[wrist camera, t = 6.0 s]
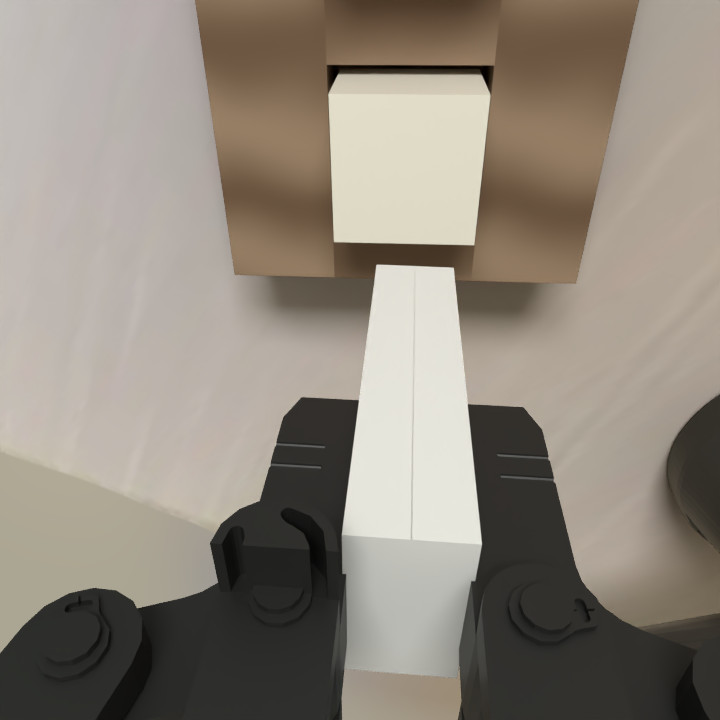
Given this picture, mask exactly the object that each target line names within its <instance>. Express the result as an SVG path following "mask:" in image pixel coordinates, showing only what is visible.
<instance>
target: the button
mask: <svg viewBox="0 0 720 720" xmlns="http://www.w3.org/2000/svg"><path fill="white" fill-rule="evenodd" d="M328 97H329V124H330V150H331V177H332V204H333V231H334V242H350V243H395V244H440V245H474V243H475V234H476V225H477V215H478V206H479V197H480V188H481V179H482V169H483V160H484V151H485V142H486V132H487V123H488V114H489V105H490V93H489V90H488V88H487V86H486V83H485V81H484V79H483V76H482V74H481V72H480V69H346V68H341V69H340V71H339V73H338V75H337V78H336V80H335V82H334V84H333V86H332V88H331V90H330V92H329V94H328Z"/></svg>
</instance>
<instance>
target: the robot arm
mask: <svg viewBox="0 0 720 720" xmlns="http://www.w3.org/2000/svg"><path fill="white" fill-rule="evenodd" d="M553 479H554V476H553V472H552V468H551V464H550V461H548V452H547V448H546V444H545V440H544V436H543V432H542V429H541V428H540V427H539V426H538V424H537V423H536V422H535V421H534V420H533V418H532V417H531V416H530V415H529V414H528V412H527V411H526V410H525V409H524V408H523V407H508V406H489V405H471V404H468V403H467V393H466V383H465V374H464V364H463V354H462V344H461V335H460V325H459V315H458V305H457V296H456V286H455V276H454V268H449V267H424V266H400V265H376V273H375V281H374V288H373V296H372V304H371V312H370V319H369V327H368V335H367V343H366V350H365V358H364V366H363V374H362V382H361V389H360V397H359V400H342V399H323V398H305V397H302V398H301V399H300V400H299V401H298V402H297V403H296V404H295V405H294V406H293V407H292V409H291V410H290V411H289V412H288V413H287V414H286V415H285V416H284V417H283V420H282V424H281V428H280V431H279V435H278V438H277V444H276V447H275V449H274V452H273V456H272V460H271V467H269V470H268V474H267V477H266V481H265V485H264V488H263V492H262V495H261V499H260V501H259V502H256V503H254V504H251V505H249V506H246V507H244V508H241V509H239V510H238V511H237V512H235V513H234V514H233V515H232V516H230V517H229V518H228V519H227V520H226V521H224V522H223V523H222V524H221V525H220V527H219V529H218V530H217V532H216V534H215V536H214V537H213V539H212V541H211V542H210V545H211V550H212V555H213V559H214V564H215V569H216V574H217V579H218V583H217V584H215V585H213V586H212V587H210V588H208V589H206V590H204V591H203V592H200V593H198V594H194V595H191V596H188V597H185V598H181V599H177V600H172V601H168V602H163V603H159V604H155V605H150V606H146V607H142V608H136V606H135V604H134V602H133V601H132V600H131V599H129V598H127V597H126V596H124V595H122V594H121V593H119V592H118V591H116V590H107V589H97V588H92V589H87V590H83V591H78V592H73V593H69V594H67V595H65V596H63V597H61V598H60V599H58V600H56V601H54V602H52V603H50V604H48V605H46V606H44V607H43V608H42V609H41V610H40V611H39V612H38V613H37V614H36V615H35V616H34V617H33V618H31V619H30V620H29V621H28V622H27V623H26V624H25V625H24V626H23V627H22V628H21V629H20V630H19V632H18V633H17V634H16V635H15V636H14V638H13V639H12V640H11V641H10V642H9V644H8V645H7V646H6V647H5V648H4V650H3V651H2V652H1V653H0V720H342V704H341V697H342V687H343V676H344V669H351V670H364V671H375V672H387V673H400V674H413V675H424V676H436V677H448V678H457V676H458V670H459V665H460V680H461V699H462V702H461V707H460V712H459V717H458V720H720V613H718V614H712V615H706V616H701V617H695V618H689V619H684V620H678V621H673V622H667V623H661V624H656V625H650V626H644V627H639V628H636V627H634V626H632V625H630V624H628V623H626V622H624V621H622V620H621V619H619V618H618V617H616V616H615V615H613V614H612V613H611V612H609V611H608V610H606V609H605V608H604V607H603V606H602V605H601V604H600V603H599V602H598V600H597V598H596V597H595V596H594V595H593V594H592V593H591V592H590V591H589V590H588V589H587V588H586V586H585V585H584V583H583V582H582V580H581V578H580V576H579V573H578V570H577V568H576V565H575V561H574V557H573V553H572V549H571V545H570V541H569V537H568V533H567V529H566V525H565V521H564V517H563V513H562V509H561V505H560V501H559V496H558V492H557V488H556V484H555V483H554V481H553ZM668 480H669V484H670V487H671V490H672V492H673V494H674V496H675V498H676V501H677V503H678V505H679V507H680V509H681V511H682V513H683V515H684V517H685V518H686V520H687V521H688V523H689V524H690V525H691V526H692V527H693V528H694V529H695V530H696V531H697V532H698V533H699V534H700V535H701V536H702V537H704V538H705V539H706V540H707V541H709V542H710V543H711V544H712V545H713V546H714V548H715V549H716V550H717V551H718V552H719V553H720V395H719V396H718V397H716V398H715V399H713V400H712V401H711V402H709V403H708V404H707V405H706V406H704V407H703V408H702V409H701V410H700V411H699V412H698V413H697V414H696V415H695V416H694V417H693V418H692V419H691V420H690V421H689V422H688V423H687V424H686V426H685V427H684V428H683V430H682V431H681V433H680V434H679V436H678V437H677V439H676V441H675V443H674V445H673V447H672V450H671V453H670V456H669V460H668Z"/></svg>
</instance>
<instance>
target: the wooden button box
mask: <svg viewBox="0 0 720 720" xmlns="http://www.w3.org/2000/svg"><path fill="white" fill-rule="evenodd" d="M638 2H639V0H195V3H196V10H197V17H198V24H199V31H200V38H201V44H202V51H203V58H204V65H205V72H206V79H207V86H208V93H209V100H210V107H211V114H212V120H213V127H214V134H215V141H216V148H217V155H218V162H219V169H220V176H221V183H222V190H223V196H224V203H225V210H226V217H227V224H228V231H229V238H230V245H231V252H232V259H233V266H234V273H235V275H264V276H302V277H341V278H375V273H376V265H400V266H424V267H449V268H454V276H455V280H457V281H495V282H534V283H572V284H576V281H577V277H578V272H579V268H580V263H581V259H582V254H583V250H584V245H585V241H586V236H587V232H588V227H589V223H590V218H591V214H592V209H593V205H594V200H595V196H596V191H597V187H598V182H599V178H600V173H601V169H602V164H603V160H604V155H605V151H606V146H607V142H608V137H609V133H610V128H611V124H612V119H613V115H614V110H615V106H616V101H617V97H618V92H619V88H620V83H621V79H622V74H623V70H624V65H625V61H626V56H627V52H628V47H629V43H630V38H631V34H632V29H633V25H634V20H635V16H636V11H637V7H638ZM341 68H346V69H480V72H481V74H482V76H483V79H484V81H485V83H486V86H487V88H488V90H489V93H490V105H489V114H488V123H487V132H486V142H485V151H484V160H483V169H482V179H481V188H480V197H479V206H478V215H477V225H476V234H475V243H474V245H440V244H395V243H350V242H334V231H333V204H332V177H331V150H330V124H329V97H328V94H329V92H330V90H331V88H332V86H333V84H334V82H335V80H336V78H337V75H338V73H339V71H340V69H341Z"/></svg>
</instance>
